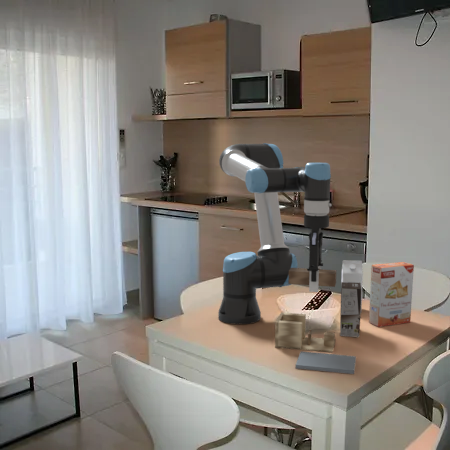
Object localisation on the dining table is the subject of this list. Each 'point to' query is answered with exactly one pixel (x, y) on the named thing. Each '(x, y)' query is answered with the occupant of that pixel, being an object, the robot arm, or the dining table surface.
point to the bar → (302, 276)
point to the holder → (300, 334)
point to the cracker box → (391, 293)
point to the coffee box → (350, 309)
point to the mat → (326, 362)
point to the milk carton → (352, 273)
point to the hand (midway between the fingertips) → (314, 289)
